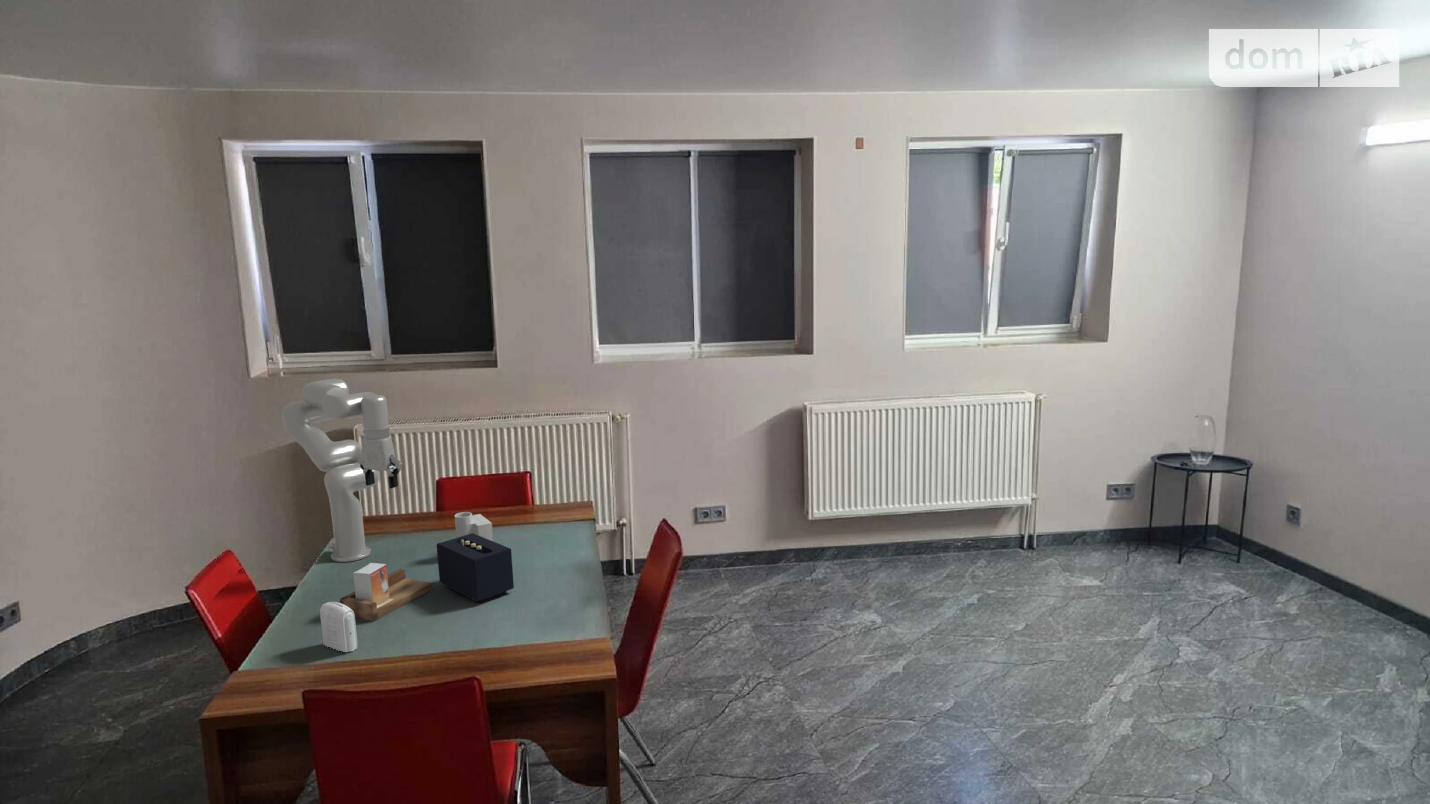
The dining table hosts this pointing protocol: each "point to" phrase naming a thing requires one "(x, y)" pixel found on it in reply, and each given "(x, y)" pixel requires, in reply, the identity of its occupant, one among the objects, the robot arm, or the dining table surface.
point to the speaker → (475, 566)
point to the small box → (372, 583)
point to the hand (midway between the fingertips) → (382, 486)
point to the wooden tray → (398, 596)
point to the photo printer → (338, 627)
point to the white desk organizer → (473, 525)
